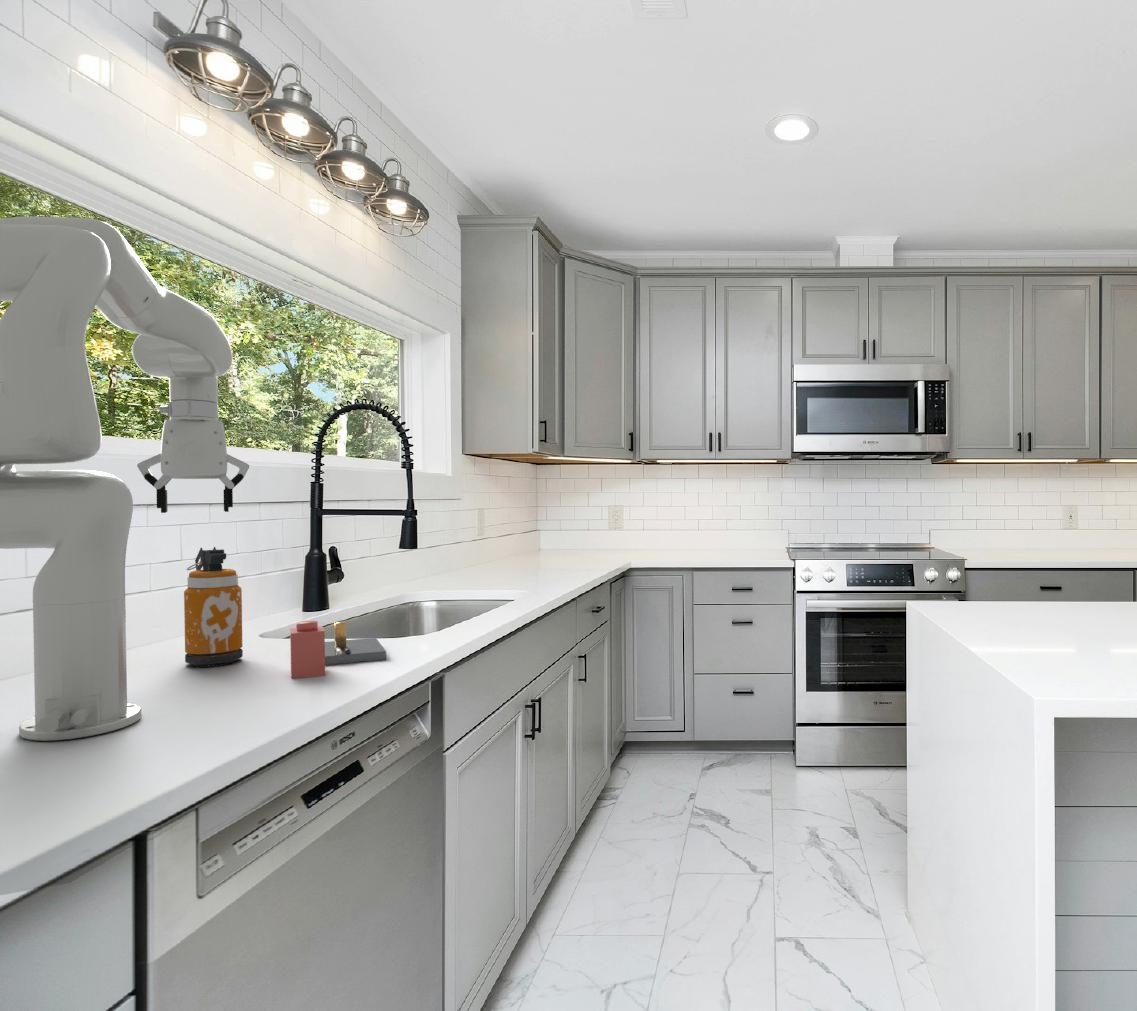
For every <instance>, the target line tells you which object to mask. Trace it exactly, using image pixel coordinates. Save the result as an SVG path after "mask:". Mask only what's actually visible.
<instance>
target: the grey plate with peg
mask: <svg viewBox="0 0 1137 1011" xmlns="http://www.w3.org/2000/svg"><path fill="white" fill-rule="evenodd" d="M333 623H334V624H333V628H334V631H333V632H334V636H333V637H334V640H332V641H331V640H330V641H325V666H333V665H343V664H344V663H345V664H353V662H356V663H360V662H359V661H367V662H377V661H385V660H387V651H386V649H385V648H384V646H383V645H382V644H381V642H380V641H379V640H378V639H377V638H376V637H369V638H356V639H355V638H354V639H347V622H346V621H335V622H333ZM345 664H344V665H345Z"/></svg>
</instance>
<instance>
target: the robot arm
mask: <svg viewBox="0 0 1137 1011" xmlns="http://www.w3.org/2000/svg"><path fill="white" fill-rule="evenodd" d="M0 302H11V303H10V304H9V305H8V306H7V308H6V310H5V311H4V313H3V314H2V316H1V318H0V549H4V550H5V549H6V550H10V549H12V550H13V549H54V550H53V551H52V554H51V555H50V557H49V558H48V559H47V560H46V562H45V563H44V564H43V565H42V567H41V569H40V570H39V571H38V573H37V575H36V577H35V580H34V582H33V586H32V620H33V621H32V624H33V626H32V628H33V630H32V631H33V670H34V673H33V677H34V679H33V680H34V684H33V685H34V686H33V687H34V716H31V717H29V718H27V719H25V720H24V721H23V722H22V723H20V724H19V727H18V730H19V731H18V734H19V736H20V737H21V738H23V739H26V740H29V741H30V740H31V741H44V742H45V741H48V742H49V741H63V740H64V741H65V740H73V739H80V738H87V737H91V736H92V737H93V736H97V735H101V734H102V735H103V734H106V733H109V732H110V733H111V732H113V731H117V730H120V729H123V728H126V727H129V726H131V725H133V724H134V723H136V722H138V721H139V720H140V719H141V718H142V716H143V715H142V707H141V706H139V705H137V704H134V703H129V702H128V678H127V676H128V675H127V674H128V671H127V670H128V669H127V666H128V665H127V620H126V618H127V617H126V559H127V558H126V555H127V547H128V540H129V534H130V530H131V524H132V518H133V510H134V501H133V495H132V493H131V490H130V488H129V487H128V485H127V484H126V483H125V482H124V480H122V479H121V478H119V477H117V476H115V475H114V474H111V473H107V472H104V471H97V470H89V469H87V470H85V469H67V470H66V469H64V470H63V469H61V470H60V469H55V470H53V469H51V470H50V469H49V470H48V469H47V470H23V471H22V470H16V466H15V465H43V464H44V465H47V464H50V465H51V464H71V463H72V464H73V463H77V462H78V463H79V462H82V461H86V460H89V459H90V458H93V457H94V456H95V455H96V454H98V452H99V450H100V448H101V446H102V441H103V440H102V438H103V435H102V434H103V433H102V425H101V420H100V414H99V410H98V406H97V405H98V404H97V401H96V395H95V391H94V387H93V382H92V378H91V373H90V369H89V364H88V358H87V352H86V342H85V341H86V333H87V328H88V325H89V321H90V320H91V316H92V313H93V311H94V309H95V308H97V309H98V310H99V312H100V313H101V314H102V315H103V316H104V317H105V319H106V320H108V322H110V323H111V325H114V326H116V327H117V328H118V329H122V330H125V331H128V332H130V333H134V334H138V335H137V336H136V337H135V339H134V341H133V343H132V346H131V353H132V357H133V360H134V362H135V364H136V365H137V367H138V368H139V369H140V370H141V371H142V372H143V373H145V374H147V375H149V376H151V377H155V378H164V379H168V381H169V384H168V386H169V389H168V390H169V391H168V392H169V393H168V394H169V401H168V404H167V405H160V406H159V414H163V415H167V416H168V418H169V419H165V420H164V423H163V427H162V432H161V444H160V453H158V454H155V455H154V456H152V457H150V458H147V459H145V460H142V461H140V462H138V463H137V465H136V466H137V468H138V470H139V472H140V474H141V475H142V477H143V479H144V480H145V481H146V482H148V483H149V484H150V485H151V486H152V487H153V488H154V489H156V509H160V513H161V514H166V513H168V490H167V489H166V486H167V485H168V484H169V483H170V481H171V480H173V479H178V480H179V479H180V480H181V479H183V480H184V479H185V480H186V479H187V480H188V479H189V480H190V479H192V480H196V479H197V480H201V479H204V480H207V479H209V480H212V479H215V480H216V479H219V480H220V482H222V483H223V485H224V489H223V512H225V513H229V508H233V507H234V506H233V504H234V501H233V498H234V496H233V495H234V494H233V489H234V488H235V487H237V486H238V484H240V482H241V481H243V479H244V478H245V476H246V475H247V472H248V471H249V469H250V465H249V463H247V462H245V461H243V460H241V459H238V458H237V457H235V456H232V455H231V454H228V450H227V448H228V447H227V439H226V438H227V437H226V431H225V426H224V423H223V421H219V391H218V390H219V386H218V384H219V380H218V379H219V377H221V376H224V375H226V373H228V372H229V370H230V368H231V366H232V364H233V352H232V346H231V344H230V342H229V339H228V337H227V335H226V334H225V332H224V330H223V328H222V327H221V326H220V324H219V322H218V321H217V320H216V319H215V316H213V314H212V313H210V312H209V311H208V310H206V309H205V308H204V307H202V306H200V305H199V304H197V303H195V302H193V301H191V300H189V299H188V298H187V299H186V297H183V296H181V295H179V294H178V293H175V292H173V291H171V290H169V289H166V288H164V287H162V286H160V285H159V284H158V282H157V281H156V280H155V279H154V277H153V275H151V273H150V272H149V270H148V268H146V266H145V265H144V263H143V262H142V260H141V259H140V258H139V256H138V255H137V253H136V252H135V251H134V249H133V248H132V246H131V245H130V244H129V242H128V241H127V239H126V238H125V237H124V236H123V234H122V233H121V232H120V231H119V229H117V228H115V227H114V226H113V225H111V224H109V223H107V222H105V221H102V220H99V219H94V218H89V217H87V218H86V217H64V216H63V217H61V216H59V217H58V216H14V217H6V218H0ZM228 463H229V464H231V465H233V466H235V467H237V468H239V470H238V472H237V473H236V475H235V476H233V478H232V479H230V478H229V477H228V476H227V473H228ZM158 464H160V471H161V474H162V475H161V477H159V479H158V478H156V477H155V476H154V475H153V474H152V473H151V471H150V467H152V466H155V465H158Z"/></svg>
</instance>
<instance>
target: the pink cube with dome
mask: <svg viewBox="0 0 1137 1011" xmlns="http://www.w3.org/2000/svg"><path fill="white" fill-rule="evenodd" d="M318 624H319V623H318V621H317V620H302V621H298V622H296V628H295V627H294V628H290V629H289V633H290V634H289V636H290V638H289V641H290V675H291V676H290V677H291V679H299V678H309V677H311V678H312V677H318V676H320V677H321V676H326V665H325V642H326V641H325V640H326V639H325V637H326V636H325V635H326V634H325V629H324V626H321V625H320V626H318Z"/></svg>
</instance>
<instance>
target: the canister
mask: <svg viewBox="0 0 1137 1011" xmlns="http://www.w3.org/2000/svg"><path fill="white" fill-rule="evenodd" d="M226 559H227V553H225V549H221V548H220V549H217V548H216V546H214V547H213V549H205V550H204V549H203V547H200V549H199V551H198V553H197V555H196V557H195V559H194V564H192V565H190V566H189V567H186V571H190V572H189V573H188V576H187V588H186V589H185V590H184V592H183V602H184V603H183V604H184V606H183V608H184V609H183V610H184V611H183V613H184V652H185V654H184V660H185V663H186V664H189V665H193V666H194V667H201V668H204V667H205V668H206V667H207V668H208V667H211V668H212V667H220V666H224V665H229V664H232V663H234V662H235V661H236V660H239V659H242V658H243V651H244V650H243V649H242V648H243V599H242V598H243V596H242V595H243V592H242V587H241V586H240V585H239V578H238V577H239V576H238V573H237V570H235V569H232V568H223V564H224V560H226ZM193 569H195V570H193ZM191 570H193V571H191Z"/></svg>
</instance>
